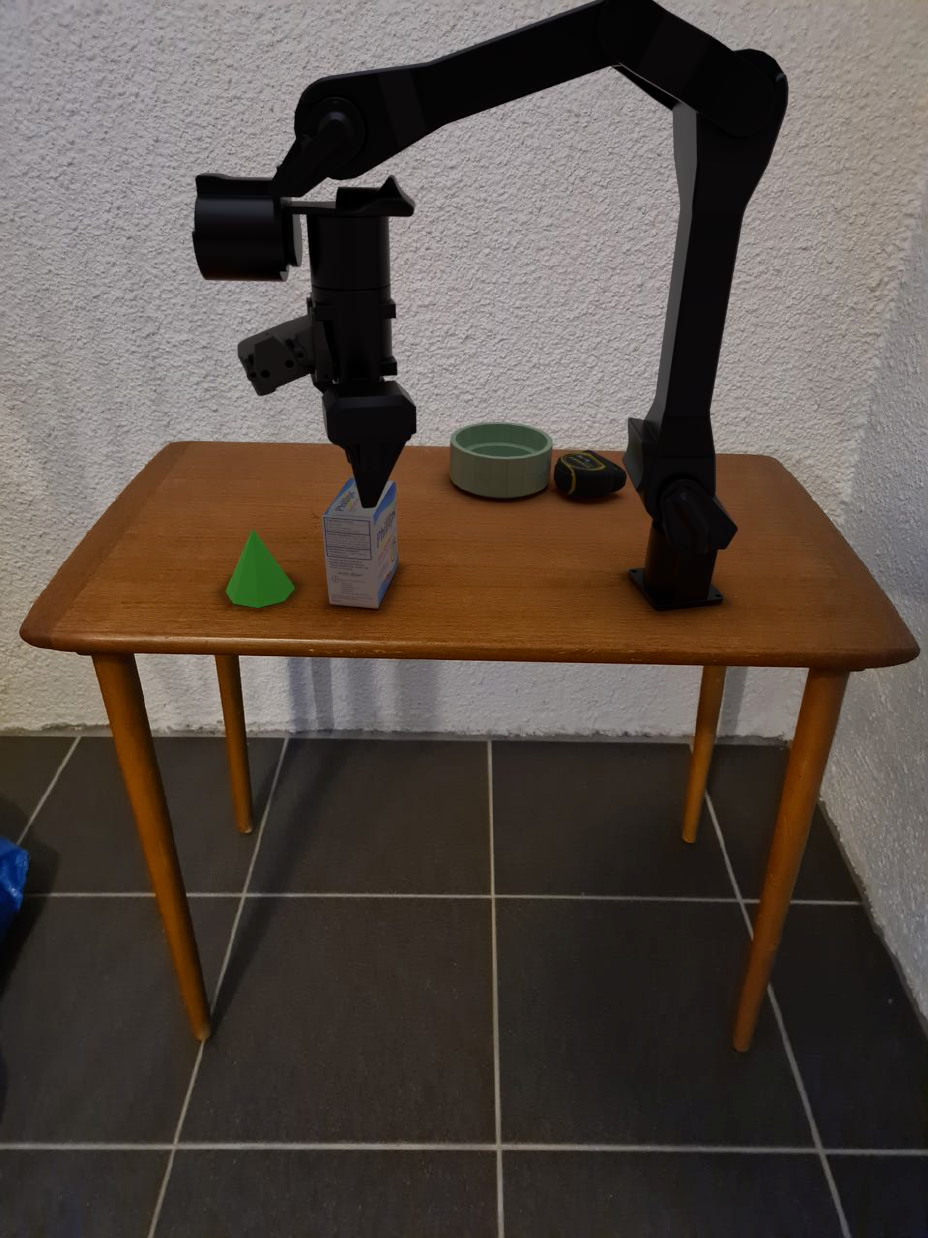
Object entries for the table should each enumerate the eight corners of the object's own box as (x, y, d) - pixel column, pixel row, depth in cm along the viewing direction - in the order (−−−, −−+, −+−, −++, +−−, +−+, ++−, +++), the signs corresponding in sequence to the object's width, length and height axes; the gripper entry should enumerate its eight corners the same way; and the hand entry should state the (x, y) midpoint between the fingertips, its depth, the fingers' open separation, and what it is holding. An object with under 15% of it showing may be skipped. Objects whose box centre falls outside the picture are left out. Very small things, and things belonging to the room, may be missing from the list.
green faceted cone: (228, 574, 74) (219, 513, 71) (296, 571, 75) (290, 511, 72) (221, 609, 69) (211, 546, 66) (294, 606, 70) (287, 543, 67)
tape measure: (627, 498, 90) (631, 466, 88) (575, 509, 88) (579, 476, 86) (590, 475, 95) (594, 444, 93) (540, 485, 93) (543, 454, 91)
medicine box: (378, 611, 70) (375, 518, 65) (327, 605, 70) (320, 513, 66) (399, 566, 76) (397, 479, 72) (352, 561, 77) (347, 474, 72)
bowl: (562, 498, 90) (567, 454, 87) (462, 506, 88) (464, 461, 85) (531, 459, 99) (534, 419, 96) (440, 466, 97) (440, 424, 94)
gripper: (235, 262, 66) (257, 449, 74) (237, 316, 50) (265, 544, 59) (374, 259, 68) (381, 441, 76) (417, 311, 53) (419, 531, 61)
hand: (361, 483), depth 68 cm, fingers open, 9 cm apart
